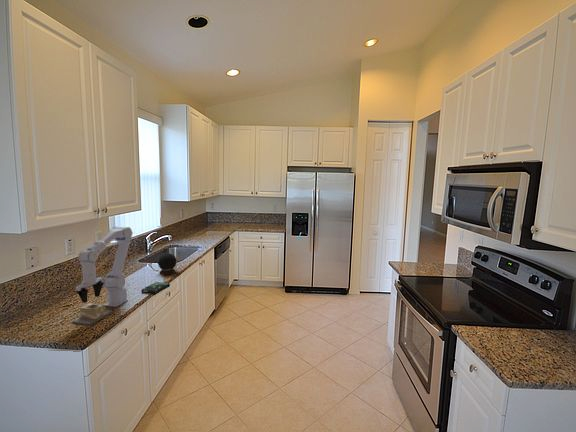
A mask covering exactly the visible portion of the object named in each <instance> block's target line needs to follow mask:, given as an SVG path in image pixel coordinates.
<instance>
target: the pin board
mask: <svg viewBox="0 0 576 432" xmlns="http://www.w3.org/2000/svg"><path fill="white" fill-rule="evenodd" d="M104 310H105V314H104V315H102V316H101V317H99V318H97V319H91V318H84V317H81V316H80V317H78V318H75V319H73V320H72V323H73V324H76V325H77V324H78V325H85V326H91V325H93V324H94V323H96V322H98V321H100V320H101V319H104V318H105V317H106V316H109V315H110V314H112V313H113V310H109V309H108V310H107V309H104Z"/></svg>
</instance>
